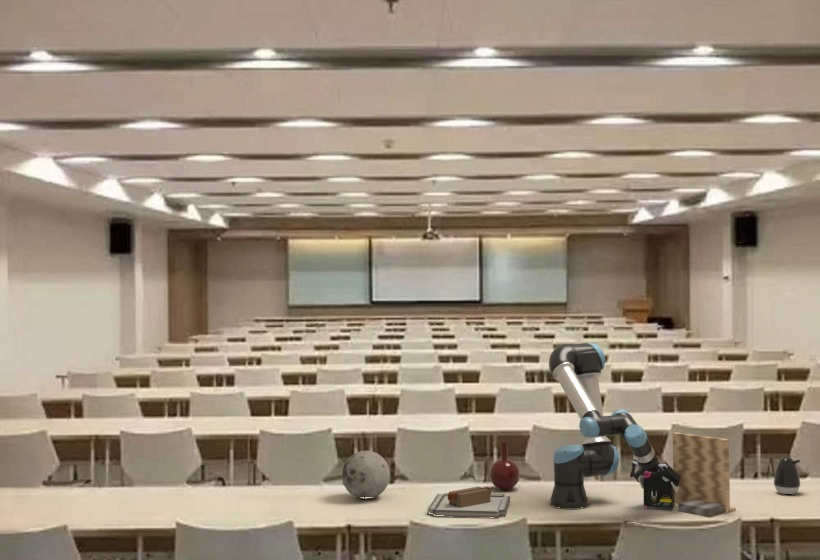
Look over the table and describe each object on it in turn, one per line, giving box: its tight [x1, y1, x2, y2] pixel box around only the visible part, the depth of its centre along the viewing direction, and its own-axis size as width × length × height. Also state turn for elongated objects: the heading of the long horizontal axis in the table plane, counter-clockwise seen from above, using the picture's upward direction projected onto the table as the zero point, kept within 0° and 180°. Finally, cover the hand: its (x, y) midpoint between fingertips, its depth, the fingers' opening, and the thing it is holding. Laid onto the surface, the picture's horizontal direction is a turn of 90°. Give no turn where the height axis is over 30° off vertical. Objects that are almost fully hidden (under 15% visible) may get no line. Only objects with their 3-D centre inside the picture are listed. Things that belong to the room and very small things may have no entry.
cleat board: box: [672, 431, 737, 518], centre depth 392 cm, size 24×16×28 cm, turn 40°
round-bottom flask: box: [489, 442, 521, 491], centre depth 433 cm, size 13×13×20 cm
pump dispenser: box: [773, 456, 801, 495], centre depth 415 cm, size 10×10×15 cm
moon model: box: [341, 450, 391, 498], centre depth 421 cm, size 20×20×20 cm
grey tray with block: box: [427, 486, 511, 519], centre depth 400 cm, size 30×30×8 cm
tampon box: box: [643, 468, 675, 511], centre depth 396 cm, size 11×9×15 cm
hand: (660, 487), depth 397 cm, fingers open, 13 cm apart
